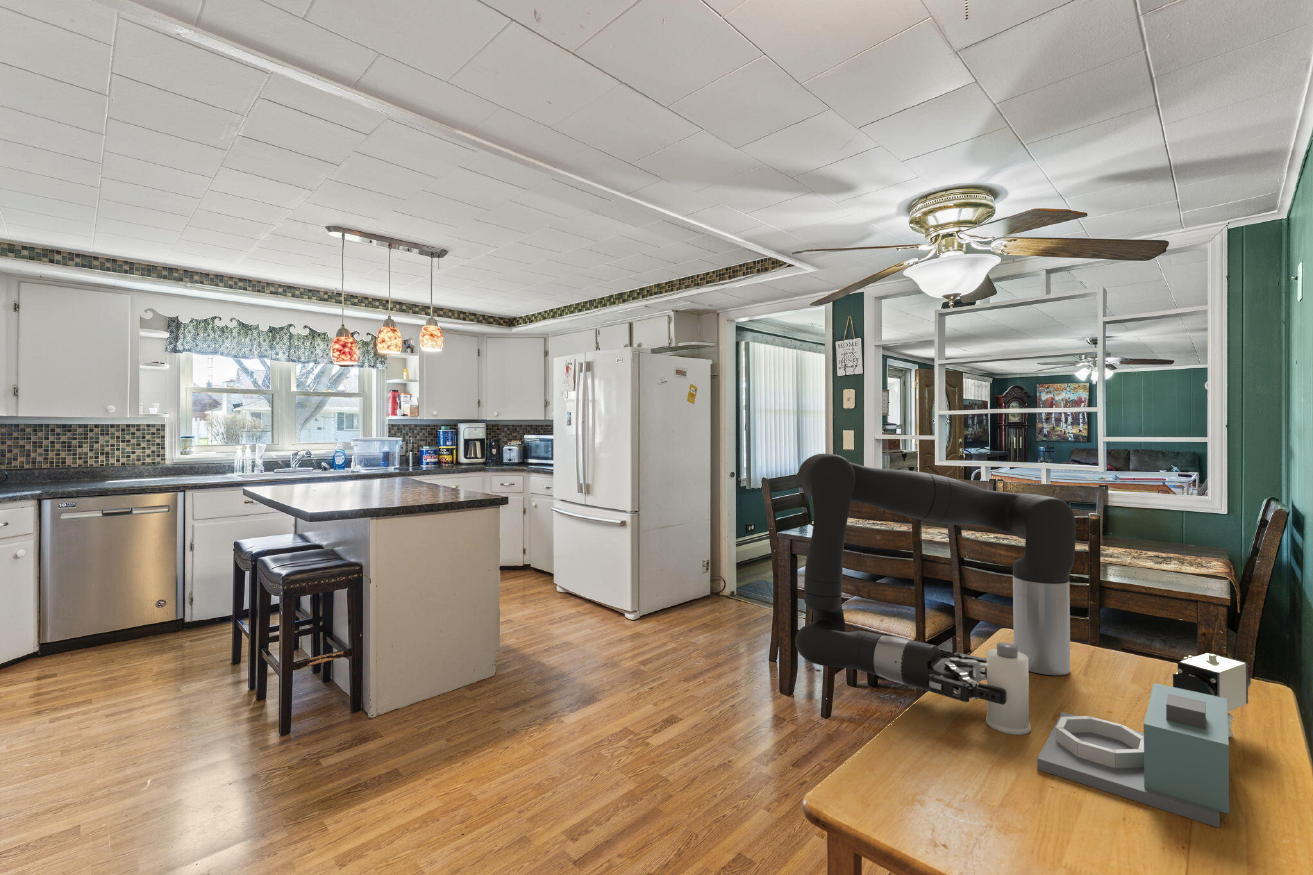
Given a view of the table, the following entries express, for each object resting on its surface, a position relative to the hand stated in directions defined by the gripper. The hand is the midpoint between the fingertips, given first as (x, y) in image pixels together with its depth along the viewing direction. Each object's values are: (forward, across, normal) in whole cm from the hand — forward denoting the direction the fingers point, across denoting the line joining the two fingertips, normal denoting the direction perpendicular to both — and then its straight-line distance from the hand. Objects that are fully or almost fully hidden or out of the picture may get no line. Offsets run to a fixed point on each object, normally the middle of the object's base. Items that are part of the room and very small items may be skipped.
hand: (1013, 688), depth 92 cm
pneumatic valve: (+22, +17, +6) cm, 29 cm away
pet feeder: (+15, -2, +6) cm, 16 cm away
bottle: (-1, 0, +6) cm, 6 cm away
